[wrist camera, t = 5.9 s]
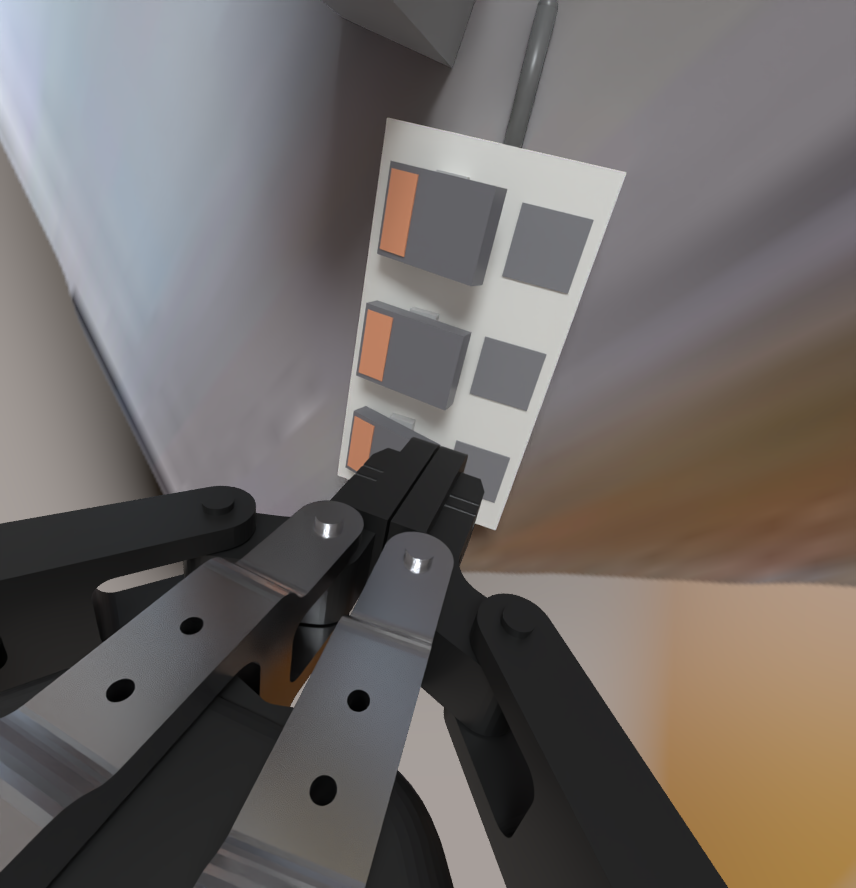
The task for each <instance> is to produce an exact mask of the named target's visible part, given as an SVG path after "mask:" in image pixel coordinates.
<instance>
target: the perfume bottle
mask: <svg viewBox="0 0 856 888" xmlns="http://www.w3.org/2000/svg"><path fill="white" fill-rule="evenodd" d="M321 1H322V2H324V3H325V4H326V5H327V6H328V7H330V8H331V9H332V10H333V11H335V12H336V13H337V14H338V15H339V16H341V17H342V18H344V19H347V20H349V21H351V22H353V23H355V24H357V25H360V26H362V27H364V28H366V29H368V30H370V31H373V32H375V33H377V34H379V35H381V36H383V37H386V38H388V39H390V40H392V41H394V42H396V43H399V44H401V45H403V46H405V47H407V48H409V49H412V50H414V51H416V52H418V53H420V54H422V55H425V56H427V57H429V58H431V59H433V60H435V61H438V62H440V63H442V64H444V65H446V66H448V67H451V68H453V65H454V62H455V59H456V56H457V53H458V50H459V47H460V44H461V41H462V38H463V35H464V32H465V29H466V26H467V23H468V20H469V17H470V14H471V11H472V8H473V5H474V2H475V0H321Z"/></svg>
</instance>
